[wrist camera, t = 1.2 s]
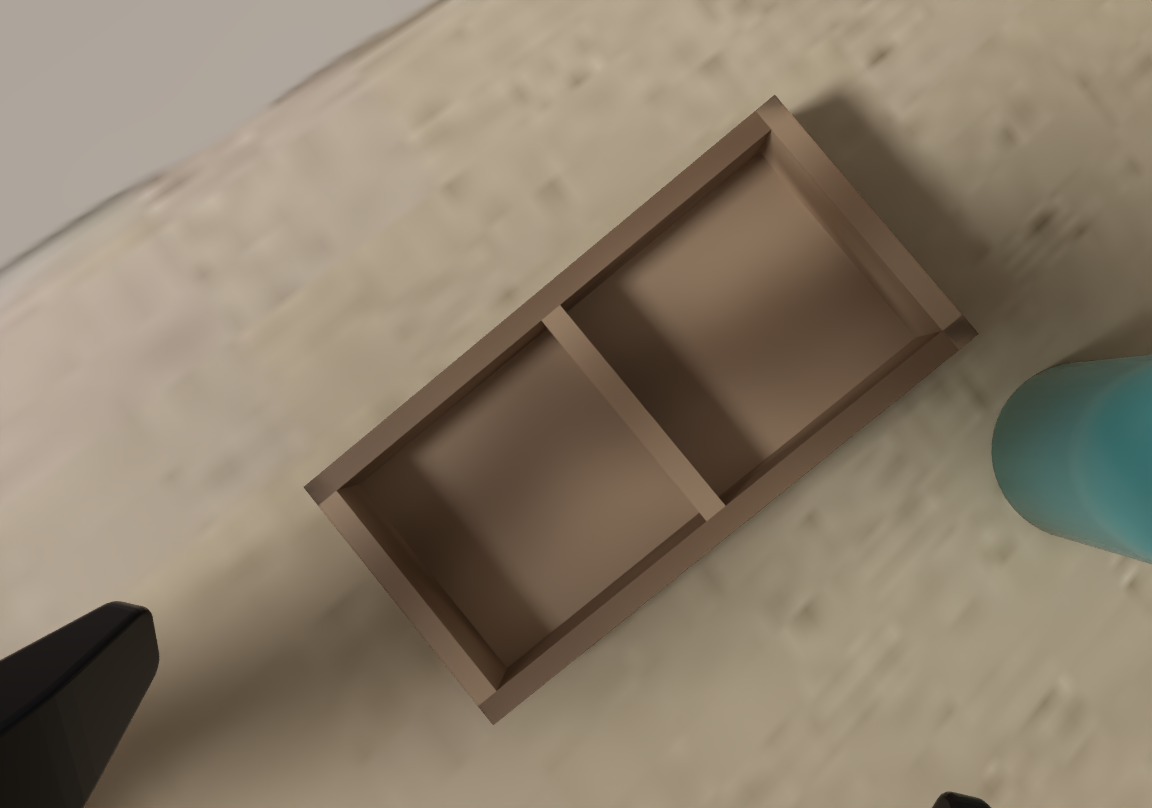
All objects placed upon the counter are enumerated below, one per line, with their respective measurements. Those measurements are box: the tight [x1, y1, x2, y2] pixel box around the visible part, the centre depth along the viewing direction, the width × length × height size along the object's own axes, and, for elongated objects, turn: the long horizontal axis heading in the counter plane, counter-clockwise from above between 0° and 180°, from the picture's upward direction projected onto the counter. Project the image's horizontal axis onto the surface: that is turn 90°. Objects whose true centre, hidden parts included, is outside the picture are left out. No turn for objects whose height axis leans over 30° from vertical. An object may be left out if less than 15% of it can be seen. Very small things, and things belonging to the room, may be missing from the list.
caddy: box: [304, 95, 978, 725], centre depth 21 cm, size 8×15×3 cm, turn 130°
